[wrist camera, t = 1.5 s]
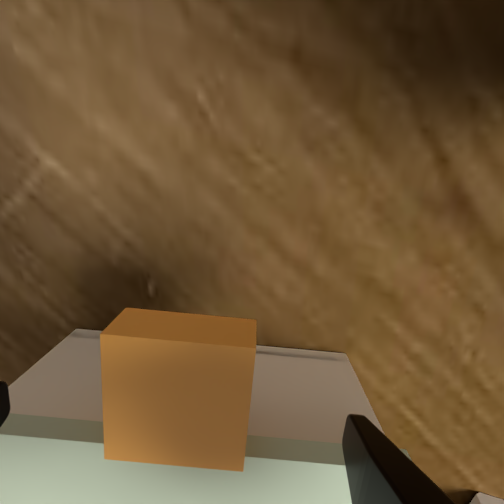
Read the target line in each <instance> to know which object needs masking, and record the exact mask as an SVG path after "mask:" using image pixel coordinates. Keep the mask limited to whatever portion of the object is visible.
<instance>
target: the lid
mask: <svg viewBox="0 0 504 504" xmlns="http://www.w3.org/2000/svg"><path fill="white" fill-rule="evenodd" d="M256 326H257V320H256V319H245V318H234V317H223V316H212V315H202V314H191V313H180V312H169V311H158V310H147V309H137V308H125V309H124V310H123V311H122V312H121V313H120V314H119V315H118V316H117V317H116V318H115V319H114V320H113V321H112V322H111V323H110V324H109V325H108V326H107V327H106V328H105V329H104V330H103V331H102V332H101V333H100V352H101V380H102V407H103V422H100V421H89V420H78V419H67V418H56V417H45V416H34V415H23V414H12V413H9V415H8V417H7V419H6V420H5V422H4V423H3V425H2V426H1V427H0V504H352V501H351V495H350V489H349V484H348V478H347V472H346V466H345V461H344V455H343V449H342V444H341V443H330V442H319V441H308V440H297V439H286V438H275V437H264V436H253V435H247V431H248V421H249V412H250V402H251V393H252V383H253V374H254V364H255V355H256ZM400 450H401V451H402V452H403V453H404V454H405V455H406V456H407V457H408V458H409V459H410V460H411V458H410V456H409V454H408V453H407V451H406V449H400ZM411 461H412V460H411Z"/></svg>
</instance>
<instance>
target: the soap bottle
mask: <svg viewBox="0 0 504 504" xmlns="http://www.w3.org/2000/svg"><path fill="white" fill-rule="evenodd" d="M469 504H504V500H503V499H499V498H496V497H493V496H490V495H487V494H484V493H481V492H479V493H477V494H476V495H475V496H474V498H473V499H472V501H471V502H470V503H469Z"/></svg>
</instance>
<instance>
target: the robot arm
mask: <svg viewBox="0 0 504 504" xmlns="http://www.w3.org/2000/svg"><path fill="white" fill-rule="evenodd" d="M10 408H11V407H10V398H9V390H8V385H7V383H6V382H4V381H0V427H1V426H2V425H3V423H4V422H5V420H6V419H7V417H8V415H9V412H10ZM342 449H343V455H344V461H345V466H346V472H347V478H348V484H349V489H350V495H351V501H352V504H456V503H455V502H453V501H452V500H451V499H450V498H449V497H448V496H447V495H446V494H445V493H444V492H443V491H442V490H441V489H440V488H439V487H438V486H437V485H436V484H435V483H434V482H433V481H432V480H431V479H430V478H429V477H428V476H427V475H426V474H425V473H423V472H422V471H421V470H420V469H419V468H418V467H417V466H416V465H415V464H414V463H413V462H412V461H411V460H410V459H409V458H408V457H407V456H406V455H405V454H404V453H403V452H402V451H401V450H400V449H399V448H398V447H397V446H396V445H395V444H394V443H392V442H391V441H390V440H389V439H388V438H387V437H386V436H385V435H384V434H383V433H382V432H381V431H380V430H379V429H378V428H377V427H376V426H375V425H374V424H373V423H372V422H371V421H370V420H369V419H368V418H367V417H365V416H364V415H359V414H349V415H348V416H347V418H346V423H345V428H344V433H343V438H342Z"/></svg>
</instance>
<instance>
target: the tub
mask: <svg viewBox="0 0 504 504" xmlns="http://www.w3.org/2000/svg"><path fill="white" fill-rule="evenodd" d="M101 332H102V331H97V330H86V329H75V330H74V331H73V332H72V333H70V334H69V335H68V336H67V337H66V338H65V339H63V340H62V341H61V342H60V343H59V344H58V345H56V346H55V347H54V348H53V349H52V350H51V351H49V352H48V353H47V354H46V355H45V356H44V357H42V358H41V359H40V360H39V361H38V362H37V363H35V364H34V365H33V366H32V367H31V368H30V369H28V370H27V371H26V372H25V373H24V374H23V375H21V376H20V377H19V378H18V379H17V380H16V381H14V382H13V383H12V384H11V385H10V386H9V387H8V390H9V398H10V407H11V408H10V412H9V413H12V414H23V415H34V416H45V417H56V418H67V419H78V420H89V421H100V422H103V407H102V380H101V352H100V333H101ZM349 414H359V415H364V416H365V417H367V418H368V419H369V420H370V421H371V422H372V423H373V424H374V425H375V426H376V427H377V428H378V429H379V430H380V431H381V432H382V433H383V434H384V432H383V430H382V428H381V426H380V424H379V422H378V420H377V418H376V416H375V413H374V411H373V409H372V407H371V405H370V403H369V401H368V399H367V397H366V395H365V393H364V391H363V389H362V386H361V384H360V382H359V380H358V378H357V376H356V374H355V372H354V370H353V368H352V366H351V364H350V361H349V359H348V357H347V355H346V353H336V352H325V351H314V350H304V349H293V348H282V347H271V346H260V345H256V355H255V364H254V374H253V383H252V393H251V402H250V412H249V421H248V431H247V435H253V436H264V437H275V438H286V439H297V440H308V441H319V442H330V443H341V444H342V438H343V433H344V428H345V423H346V418H347V416H348V415H349ZM384 435H385V434H384Z"/></svg>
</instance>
